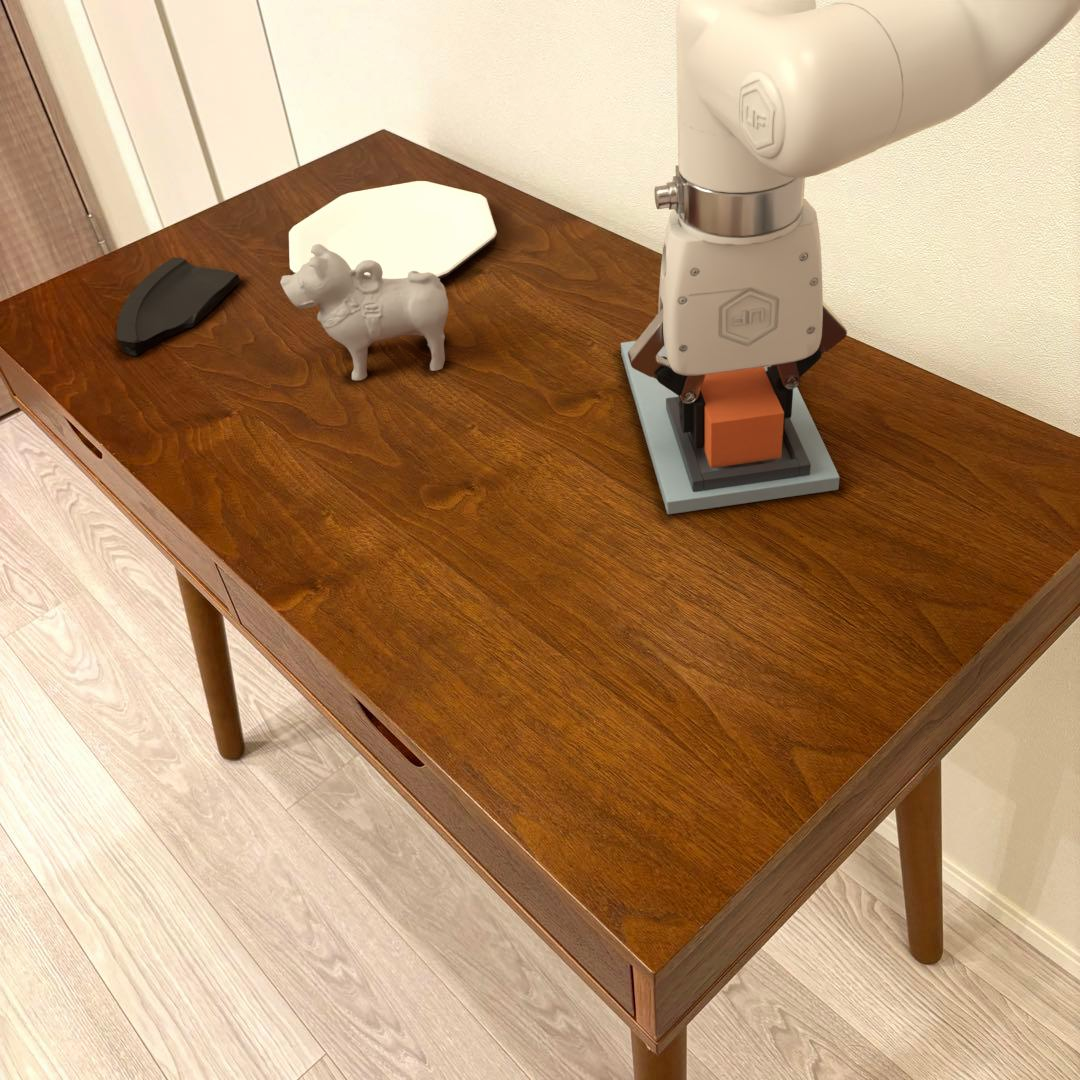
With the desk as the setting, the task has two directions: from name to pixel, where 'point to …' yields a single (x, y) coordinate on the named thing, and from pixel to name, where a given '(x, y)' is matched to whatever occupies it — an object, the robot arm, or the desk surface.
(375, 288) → the dog figurine
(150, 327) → the fan shaped piece
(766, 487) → the gray fixture board
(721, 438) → the orange rectangular block
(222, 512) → the desk surface
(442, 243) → the plate
